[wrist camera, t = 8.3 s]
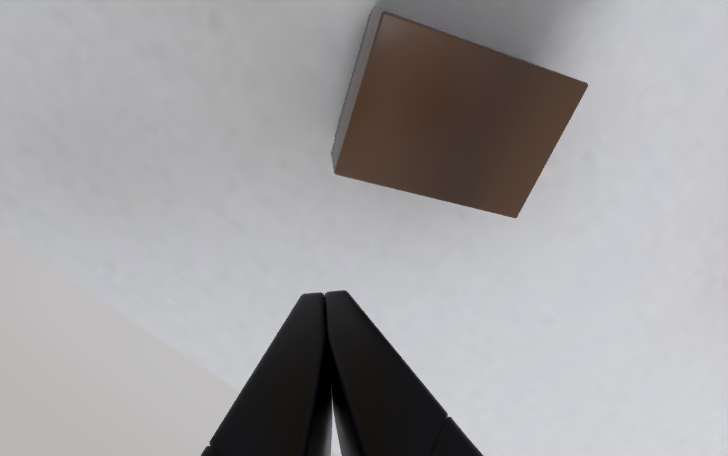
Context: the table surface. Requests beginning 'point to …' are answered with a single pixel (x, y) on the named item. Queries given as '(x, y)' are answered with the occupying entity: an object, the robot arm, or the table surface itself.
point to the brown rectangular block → (449, 117)
